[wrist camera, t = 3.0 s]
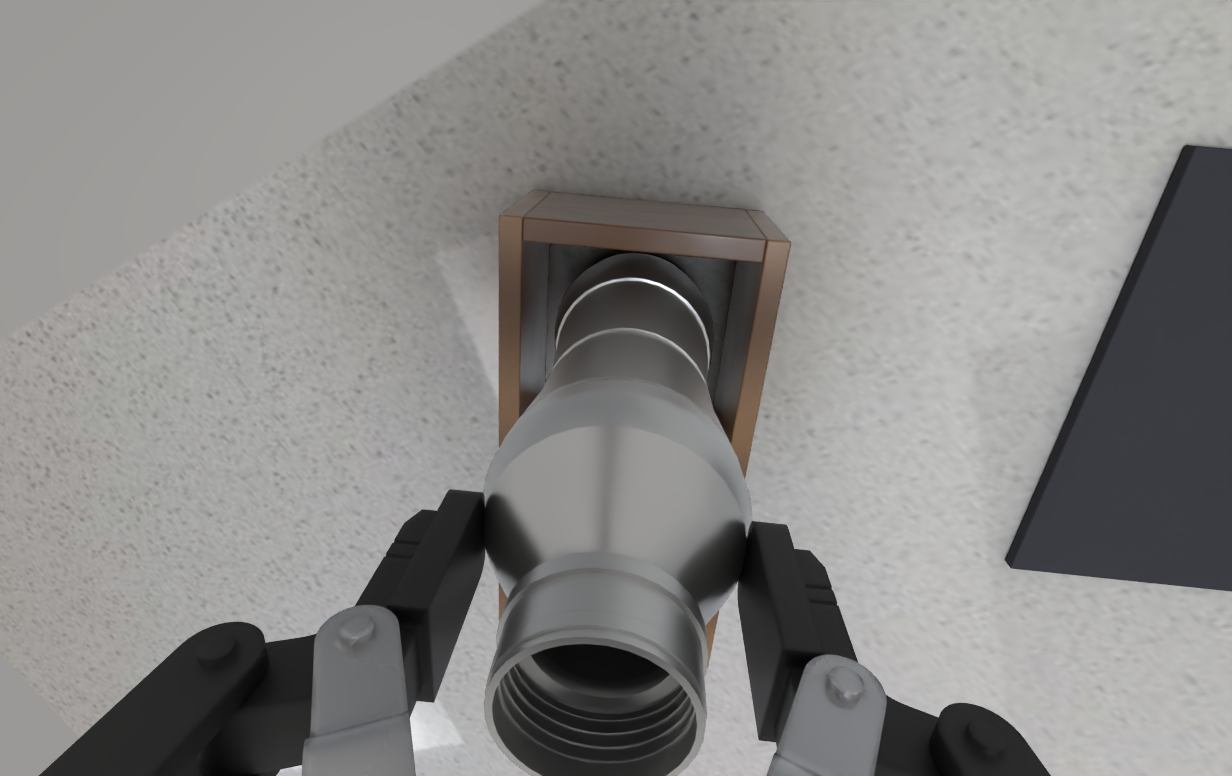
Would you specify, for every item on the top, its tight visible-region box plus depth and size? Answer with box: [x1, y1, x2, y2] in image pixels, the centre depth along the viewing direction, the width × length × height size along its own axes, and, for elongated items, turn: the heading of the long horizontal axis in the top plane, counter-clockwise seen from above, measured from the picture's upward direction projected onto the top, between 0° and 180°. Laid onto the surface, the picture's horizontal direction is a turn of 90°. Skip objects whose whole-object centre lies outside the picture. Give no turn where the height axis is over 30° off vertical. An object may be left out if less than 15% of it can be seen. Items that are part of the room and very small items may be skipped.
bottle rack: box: [499, 190, 791, 668], centre depth 27 cm, size 19×10×6 cm, turn 176°
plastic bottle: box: [483, 253, 752, 776], centre depth 19 cm, size 6×7×20 cm
